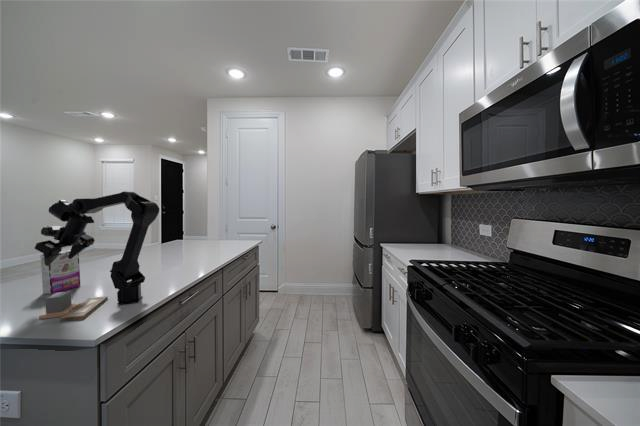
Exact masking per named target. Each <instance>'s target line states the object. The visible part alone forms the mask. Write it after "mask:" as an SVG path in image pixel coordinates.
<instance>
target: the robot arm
mask: <svg viewBox="0 0 640 426" xmlns="http://www.w3.org/2000/svg"><path fill="white" fill-rule="evenodd" d="M123 204H124V206H125V208H126V209H127V210H128V211H130V212H131V213H130V214H131V215H130V217H131V220H132V227H131V229H130V233H129V235H128V238H127V241H126V244H125V248H124V251H123V254H122V257H121V258H120V259H119V260H115V261H113V263H112V264H111V265H112V266H111V269H110V270H109V273H110V279H111V280H112V281H111V282H112V284H113V286H114V289H118V290H117V293H116V295H117V296H116V298H117V306H121V305H130V304H131V305H133V304H138V303H140V302H141V300H142V299H143V298H144V297H143V295H142V283H144V282H145V281H146V277H145V275H144V274H143V273H142V271H140V267H141V266H140V263H139V261H138V259H139V256H140V254H141V251H142V248H143V245H144V242H145V238H146V235H147V232H148V230H149V227H150V226H151V224H152V223H153V222H155V220H156V219H157V216H158V215H159V213H160V207H159V205H158V204H157V202H153V201H151V200H150V199H148V198H145V197H144V196H141V195H139V194H137V193H136V192H134V191H126V190H125V191H121V192H119V193H113V194H109V195H105V196H101V197H95V198H75V199H72V202H71V203H70V202H68V201H67V200H65V199H58V201H57V202H55V203H53V204H52V205H50V206H49V208H48V213H49V214H51V215H52V216H54V217H55V218H56V219H58V220H60V221H61V222H66V224H65V225H64V226H59V225H51V226H43V227H42V228H41V230H40V234H41V235H43V236H44V237H51V238H53V239H54V240H55V241H58V242H54V241H52V240H45V241H40V242H37V243H36V244H35V246H34V250H36V251H38V252H40V253H42V255H43V254H44V261H45V265H46V266H49V265H50V264H51V263H52V262H53V261H54V260H55V259H56V258H57V257H58V256H59V255H60V254H59V253H60V252H61V251H63V248H67V247H71V249H70V250H71V251H70V253H69V256H68V258H69V259H72V258H73V257H74V256H76V255H77V254H81V252H83V251H84V250H86V249H87V248H89V247H90V246H93V245H94V244H95V238H94V237H93V236H91V235H89V234H87V232H86V231H85V229H86V228H87V225H88V224H94V223H95V220H94V219H93V217H92V216H91V215H88V214H95V213H98V212H101V211H102V210H103V209H105V208H109V207H113V206H114V207H115V206H117V205H118V206H119V205H123ZM86 214H87V215H86Z"/></svg>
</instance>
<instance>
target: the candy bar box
mask: <svg viewBox="0 0 640 426" xmlns="http://www.w3.org/2000/svg"><path fill="white" fill-rule="evenodd" d="M70 251H71V249H68V250H61V252H60V253H59V254H60V255H59V256H58V257H57V258H56V259H55V260H54V261H53V262H52V263H51V264H50V265H49V266H46V265H45V261H44V254H43V253H42V254H40V268H41V281H42V282H41V284H42V294H43V295H53V294H55V293H58V292H66V291H69V290H71V289H75V288H78V287H81V272H80V271H81V270H80V255H79V254H80V253H79V254H77V255H76V256H74V257H73V258H72V259H69V258H68V256H69V253H70Z"/></svg>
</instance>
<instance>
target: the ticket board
mask: <svg viewBox="0 0 640 426" xmlns="http://www.w3.org/2000/svg"><path fill="white" fill-rule="evenodd" d="M106 301H108V296H98V297H96V296H95V297H89V298H87V299H85V300H84V301H82V302H80V303H81V304H80V305H78V306H77V307H75V308H74V309H72V310H71V311H70V312H68V313H67V314H65V315H64V316H61V317H59V322H60V323H62V322H71V321H81V320H85V319H86V318H87V317H88V316H90V315H91V314H92V313H94V312H95V310H97V309H98V308H99V307H101V306H102V305H103V304H104V303H105V302H106Z"/></svg>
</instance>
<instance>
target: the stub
mask: <svg viewBox="0 0 640 426" xmlns="http://www.w3.org/2000/svg"><path fill="white" fill-rule="evenodd" d="M44 300H45V311H44V312H43V313H41V314H40V315H39V316H38V319H39V320H40V319H42V320H43V319H50V318H61V317H62V316H64V315H65V314H67V313H68V312H70V311H71V310H72V309H74V308H75V307H77V306H78V305H80V304H81V303H82V302H77V303H72V291H71V290H70V291H69V290H68V291H62V292H58V293H55V294H50V296H48V297H46V298H45V299H44Z"/></svg>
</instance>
